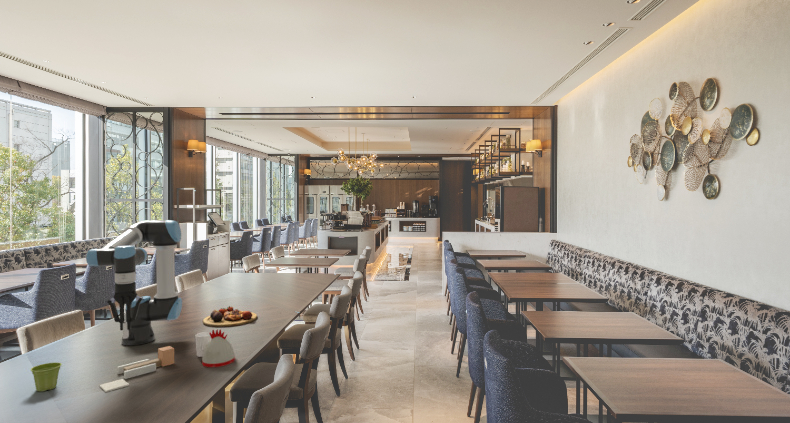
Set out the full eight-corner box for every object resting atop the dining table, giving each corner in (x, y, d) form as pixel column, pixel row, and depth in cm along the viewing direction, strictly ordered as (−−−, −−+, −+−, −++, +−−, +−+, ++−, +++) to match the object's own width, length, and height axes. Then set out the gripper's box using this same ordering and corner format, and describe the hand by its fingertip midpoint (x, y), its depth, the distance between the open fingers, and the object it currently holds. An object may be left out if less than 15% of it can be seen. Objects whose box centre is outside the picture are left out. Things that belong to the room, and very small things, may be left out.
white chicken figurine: (211, 356, 201) (210, 325, 201) (239, 356, 200) (239, 325, 200) (196, 367, 187) (196, 333, 187) (226, 367, 186) (226, 334, 186)
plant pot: (42, 383, 169) (42, 362, 169) (67, 383, 170) (67, 361, 170) (24, 394, 160) (24, 371, 160) (50, 393, 161) (50, 370, 161)
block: (158, 363, 191) (158, 348, 191) (169, 360, 195) (169, 345, 195) (162, 366, 188) (162, 351, 188) (174, 363, 191) (174, 348, 191)
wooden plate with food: (267, 319, 269) (267, 306, 269) (223, 331, 243) (223, 317, 242) (236, 312, 287) (236, 300, 287) (192, 323, 260) (192, 309, 260)
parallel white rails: (117, 373, 180) (117, 366, 180) (148, 365, 189) (148, 358, 189) (124, 379, 174) (124, 371, 174) (156, 370, 183) (155, 363, 183)
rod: (123, 374, 179) (123, 367, 179) (158, 364, 190) (158, 358, 190) (126, 376, 177) (126, 369, 177) (161, 366, 188) (161, 359, 188)
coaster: (99, 386, 167) (99, 385, 167) (122, 380, 173) (122, 378, 173) (105, 392, 161) (105, 390, 161) (129, 385, 167) (129, 384, 167)
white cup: (206, 358, 198) (206, 337, 198) (191, 357, 200) (191, 336, 200) (216, 352, 206) (216, 332, 206) (202, 351, 207) (202, 331, 207)
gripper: (104, 284, 172) (105, 342, 172) (141, 282, 176) (141, 338, 177) (109, 281, 179) (110, 336, 179) (144, 279, 184) (145, 333, 184)
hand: (125, 337), depth 178 cm, fingers closed
